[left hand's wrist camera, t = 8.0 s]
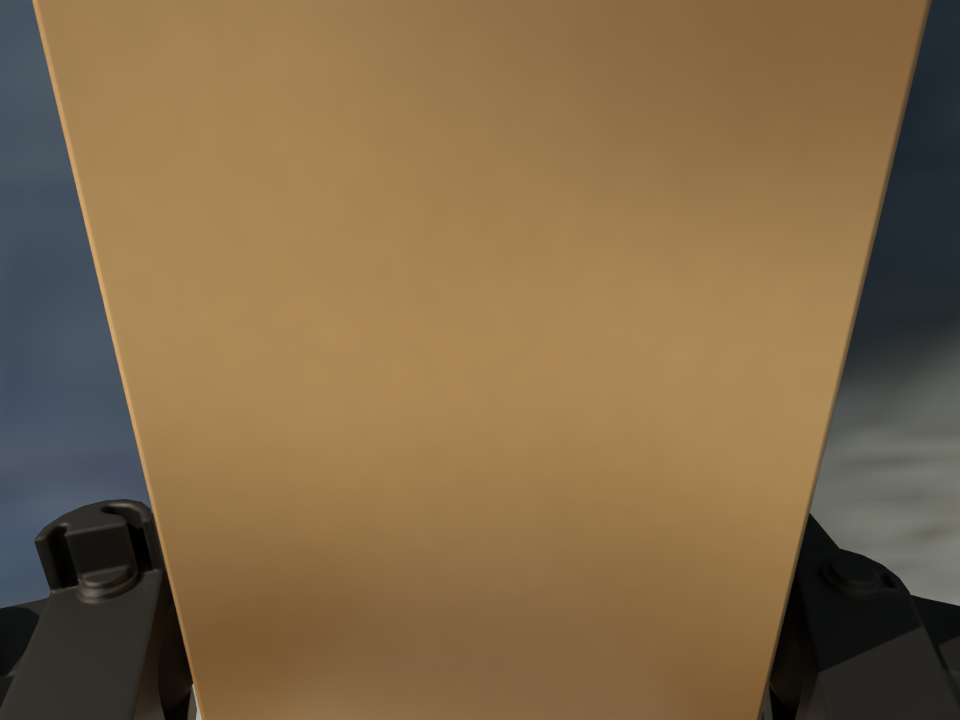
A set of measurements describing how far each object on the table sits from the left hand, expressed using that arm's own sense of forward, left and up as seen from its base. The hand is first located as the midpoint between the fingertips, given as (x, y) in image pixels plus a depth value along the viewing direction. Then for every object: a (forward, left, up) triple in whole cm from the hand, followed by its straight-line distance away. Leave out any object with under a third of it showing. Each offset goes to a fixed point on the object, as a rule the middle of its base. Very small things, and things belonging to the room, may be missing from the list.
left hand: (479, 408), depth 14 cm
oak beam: (0, +13, 0) cm, 13 cm away
